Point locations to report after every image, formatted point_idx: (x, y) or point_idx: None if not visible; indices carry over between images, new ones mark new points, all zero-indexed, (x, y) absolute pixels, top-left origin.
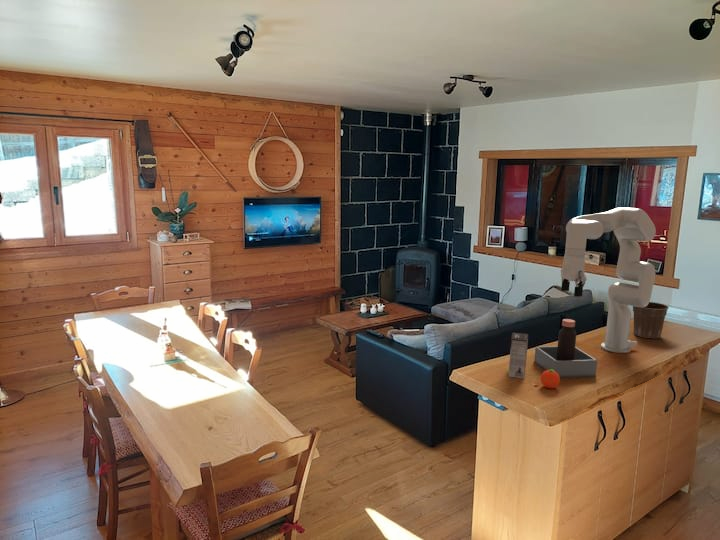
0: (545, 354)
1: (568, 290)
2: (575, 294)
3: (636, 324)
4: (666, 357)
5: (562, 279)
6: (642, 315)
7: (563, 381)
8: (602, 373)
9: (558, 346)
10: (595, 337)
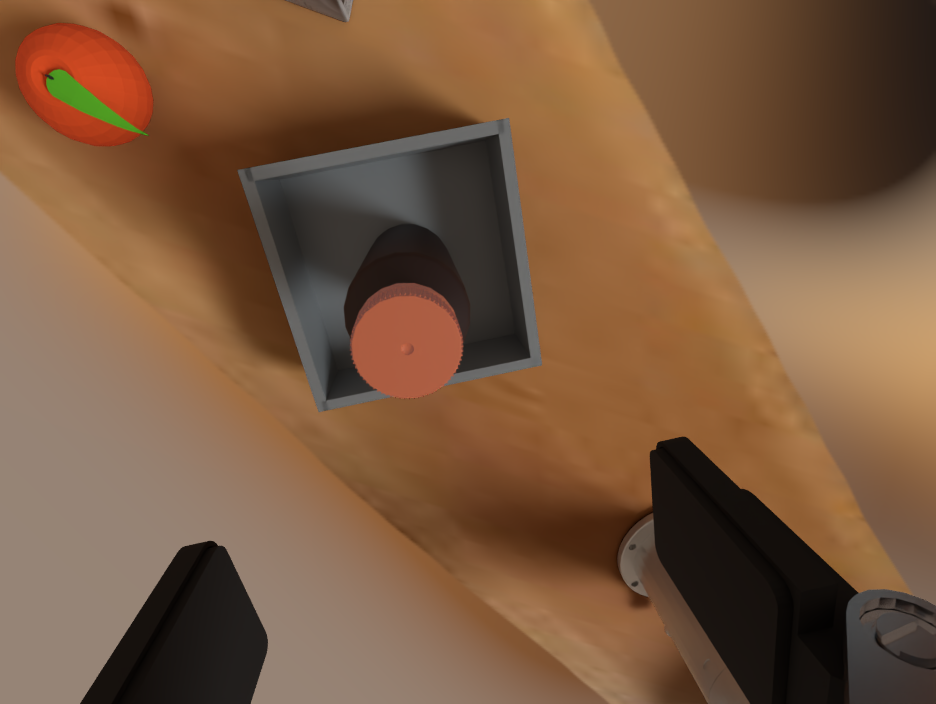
0: (372, 144)
1: (656, 548)
2: (170, 582)
3: None
4: (574, 668)
5: (915, 647)
6: None
7: (234, 205)
8: (378, 415)
9: (399, 237)
10: (810, 519)
